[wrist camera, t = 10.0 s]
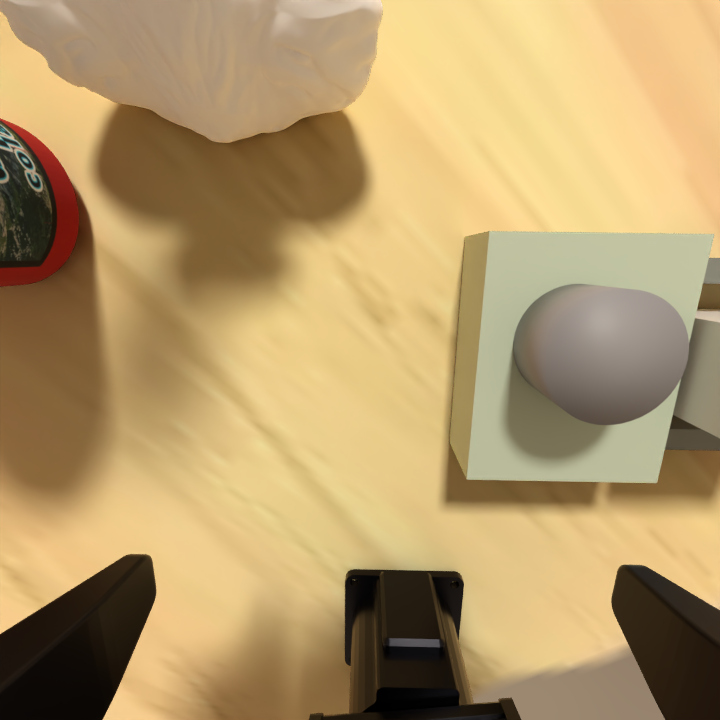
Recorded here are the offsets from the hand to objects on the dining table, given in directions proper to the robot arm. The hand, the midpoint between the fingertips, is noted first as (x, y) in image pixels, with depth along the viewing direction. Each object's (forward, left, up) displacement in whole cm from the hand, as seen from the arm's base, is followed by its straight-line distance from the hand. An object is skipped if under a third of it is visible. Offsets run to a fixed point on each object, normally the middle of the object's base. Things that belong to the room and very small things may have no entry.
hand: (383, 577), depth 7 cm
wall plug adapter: (+2, -11, -12) cm, 16 cm away
